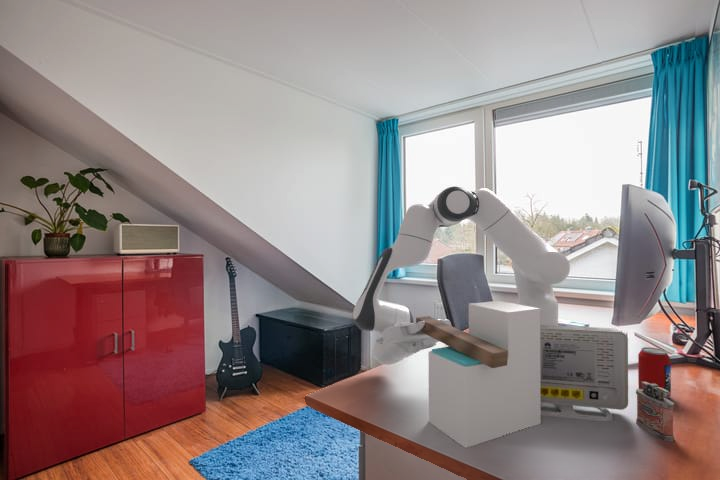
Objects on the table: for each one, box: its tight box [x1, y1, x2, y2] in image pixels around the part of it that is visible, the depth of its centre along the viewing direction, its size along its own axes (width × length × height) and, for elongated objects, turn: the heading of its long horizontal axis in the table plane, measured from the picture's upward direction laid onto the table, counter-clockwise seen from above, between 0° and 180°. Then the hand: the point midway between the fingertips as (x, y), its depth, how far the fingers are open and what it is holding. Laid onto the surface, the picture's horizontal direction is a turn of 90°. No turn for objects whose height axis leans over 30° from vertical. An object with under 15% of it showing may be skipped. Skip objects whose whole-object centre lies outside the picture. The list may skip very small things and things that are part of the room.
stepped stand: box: [428, 300, 542, 449], centre depth 84 cm, size 12×22×26 cm, turn 116°
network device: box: [540, 325, 629, 422], centre depth 90 cm, size 26×9×20 cm, turn 77°
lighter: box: [635, 382, 675, 442], centre depth 80 cm, size 8×3×10 cm, turn 5°
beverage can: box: [637, 346, 672, 399], centre depth 98 cm, size 7×7×12 cm
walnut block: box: [415, 316, 508, 368], centre depth 85 cm, size 26×4×3 cm, turn 26°
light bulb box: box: [558, 318, 590, 327], centre depth 137 cm, size 11×7×11 cm, turn 40°
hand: (432, 322), depth 92 cm, fingers closed on walnut block, 4 cm apart
